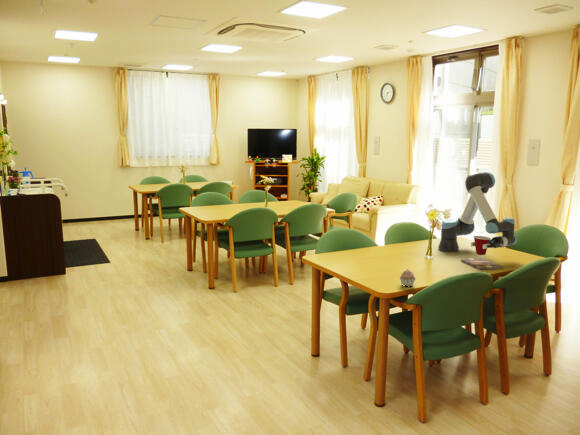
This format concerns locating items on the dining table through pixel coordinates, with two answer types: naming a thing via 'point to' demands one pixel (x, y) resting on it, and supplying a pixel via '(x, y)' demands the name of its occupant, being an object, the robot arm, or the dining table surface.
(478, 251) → the plastic cup
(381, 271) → the dining table surface
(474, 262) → the book
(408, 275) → the cupcake
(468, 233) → the robot arm
